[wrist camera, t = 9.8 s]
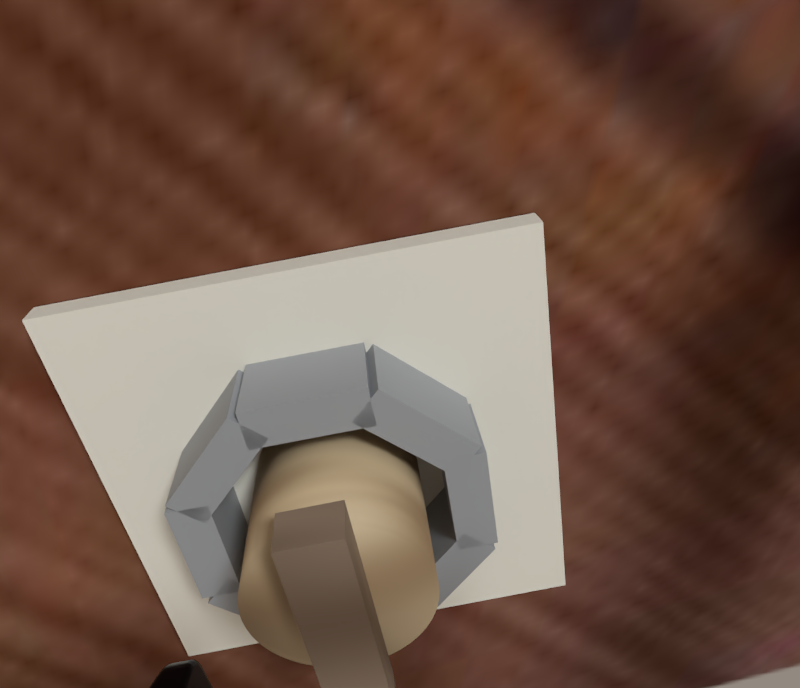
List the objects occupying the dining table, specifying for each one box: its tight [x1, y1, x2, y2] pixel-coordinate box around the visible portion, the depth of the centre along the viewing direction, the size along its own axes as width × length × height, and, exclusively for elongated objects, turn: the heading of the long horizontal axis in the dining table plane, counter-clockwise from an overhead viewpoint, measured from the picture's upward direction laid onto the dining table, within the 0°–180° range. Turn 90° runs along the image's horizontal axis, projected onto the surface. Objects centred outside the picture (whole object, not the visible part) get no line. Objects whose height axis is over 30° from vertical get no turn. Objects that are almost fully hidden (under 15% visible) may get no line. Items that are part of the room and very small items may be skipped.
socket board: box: [22, 213, 565, 656], centre depth 20 cm, size 14×14×3 cm
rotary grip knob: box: [238, 429, 440, 688], centre depth 18 cm, size 6×5×6 cm
